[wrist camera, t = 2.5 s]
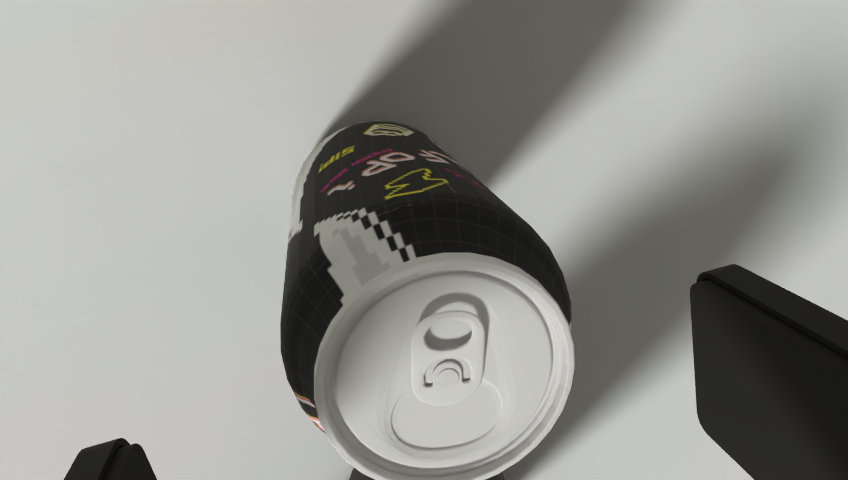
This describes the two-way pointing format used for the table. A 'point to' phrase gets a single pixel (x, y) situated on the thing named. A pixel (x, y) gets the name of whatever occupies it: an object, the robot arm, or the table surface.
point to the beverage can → (419, 311)
